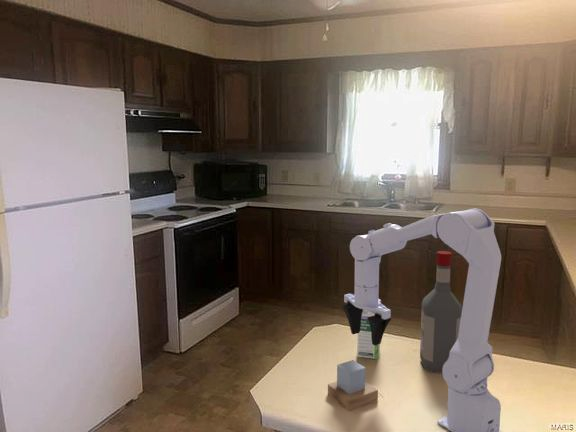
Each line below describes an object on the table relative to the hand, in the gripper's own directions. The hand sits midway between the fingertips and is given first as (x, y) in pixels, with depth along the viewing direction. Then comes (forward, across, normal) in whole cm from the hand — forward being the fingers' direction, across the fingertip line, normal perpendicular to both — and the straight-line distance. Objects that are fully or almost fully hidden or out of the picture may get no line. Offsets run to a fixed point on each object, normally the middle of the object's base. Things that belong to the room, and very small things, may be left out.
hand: (365, 338), depth 112 cm
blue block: (+8, -5, +8) cm, 13 cm away
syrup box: (+11, +10, -10) cm, 18 cm away
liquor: (+11, -5, -21) cm, 24 cm away
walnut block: (+11, -5, +8) cm, 14 cm away
